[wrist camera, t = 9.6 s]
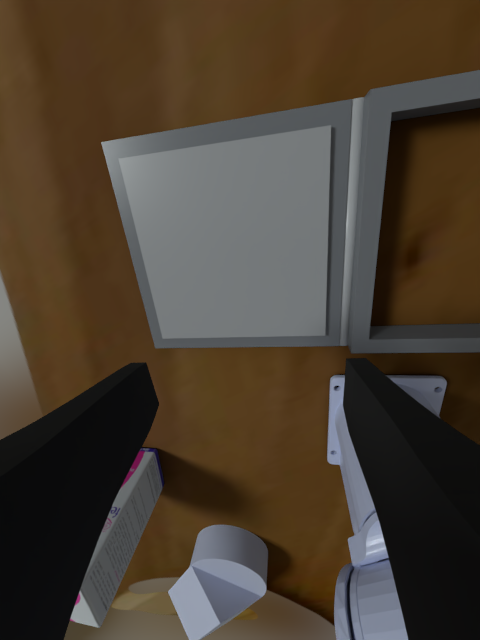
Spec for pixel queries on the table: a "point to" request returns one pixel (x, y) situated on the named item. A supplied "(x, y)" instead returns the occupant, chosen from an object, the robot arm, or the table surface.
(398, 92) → the case
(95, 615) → the supplement box
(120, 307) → the table surface
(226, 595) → the wedge on round base
